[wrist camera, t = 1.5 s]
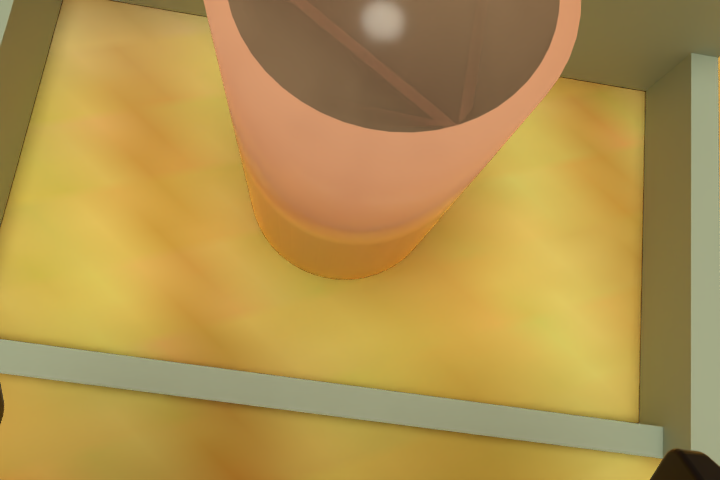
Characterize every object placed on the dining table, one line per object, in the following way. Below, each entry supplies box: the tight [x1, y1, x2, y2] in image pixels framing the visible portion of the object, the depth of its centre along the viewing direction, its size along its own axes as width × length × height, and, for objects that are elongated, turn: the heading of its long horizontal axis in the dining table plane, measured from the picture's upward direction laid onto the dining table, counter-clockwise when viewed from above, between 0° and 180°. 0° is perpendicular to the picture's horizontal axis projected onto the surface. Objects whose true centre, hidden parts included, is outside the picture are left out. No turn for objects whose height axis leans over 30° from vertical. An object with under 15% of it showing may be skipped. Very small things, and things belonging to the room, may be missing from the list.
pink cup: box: [203, 0, 581, 279], centre depth 17 cm, size 7×7×12 cm
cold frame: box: [0, 0, 720, 466], centre depth 18 cm, size 15×25×10 cm, turn 83°
